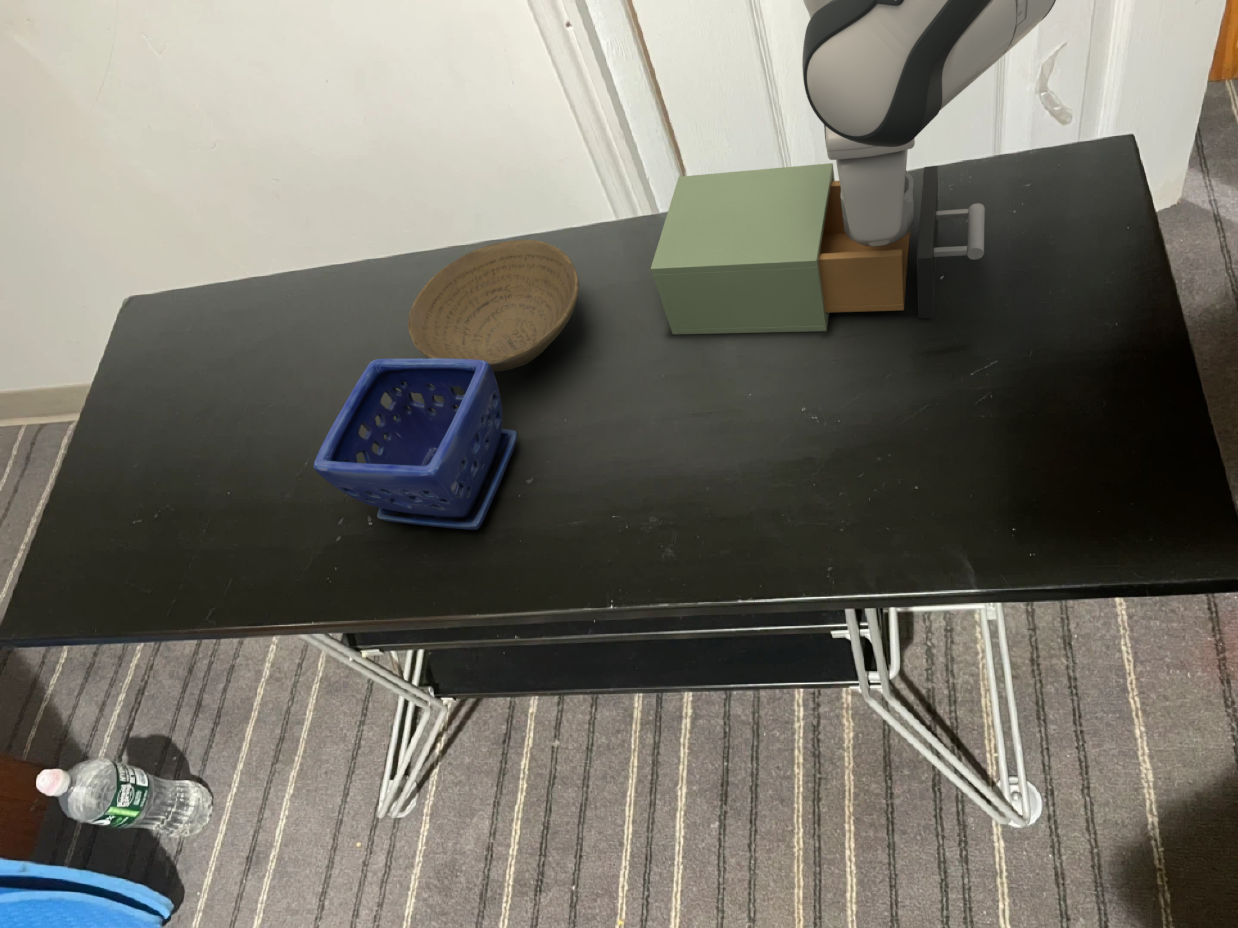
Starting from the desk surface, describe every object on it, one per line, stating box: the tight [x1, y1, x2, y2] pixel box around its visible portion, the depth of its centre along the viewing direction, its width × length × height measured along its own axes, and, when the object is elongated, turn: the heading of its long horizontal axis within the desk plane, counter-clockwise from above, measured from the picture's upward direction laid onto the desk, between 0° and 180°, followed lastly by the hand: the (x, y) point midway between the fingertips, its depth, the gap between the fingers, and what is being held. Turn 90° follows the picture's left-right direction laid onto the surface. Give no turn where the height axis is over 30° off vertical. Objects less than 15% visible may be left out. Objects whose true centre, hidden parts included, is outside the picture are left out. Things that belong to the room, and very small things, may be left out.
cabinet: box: [650, 162, 836, 335], centre depth 89 cm, size 16×14×9 cm
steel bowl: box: [840, 170, 915, 247], centre depth 81 cm, size 6×6×4 cm
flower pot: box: [313, 357, 518, 531], centre depth 83 cm, size 13×13×12 cm
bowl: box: [407, 239, 580, 372], centre depth 94 cm, size 18×18×8 cm
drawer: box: [818, 165, 986, 319], centre depth 84 cm, size 19×12×7 cm, turn 76°
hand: (878, 211), depth 81 cm, fingers closed on steel bowl, 6 cm apart
